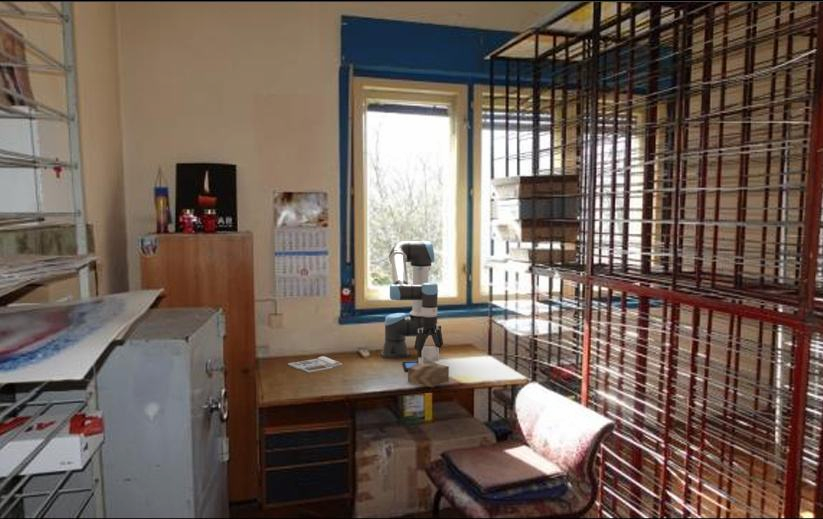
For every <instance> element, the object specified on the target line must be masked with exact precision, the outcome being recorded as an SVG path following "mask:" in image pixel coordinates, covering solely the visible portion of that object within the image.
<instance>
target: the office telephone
mask: <svg viewBox="0 0 823 519" xmlns="http://www.w3.org/2000/svg"><path fill="white" fill-rule="evenodd" d="M287 365H288V366H289V367H292V368H294V369H296V370H300V371H303V372H306V373H307V374H313V373H317V372H322V371H326V370H331V369H334V367H340V366H343V363H342V362H340V361H337V360H335V359H332V358H329V357H327V356H319V357H318V358H313V359H308V360H307V359H306V360H302V361H296V362H288V363H287ZM319 367H323V368H319ZM314 368H318V369H314ZM312 369H313V370H312Z"/></svg>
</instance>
